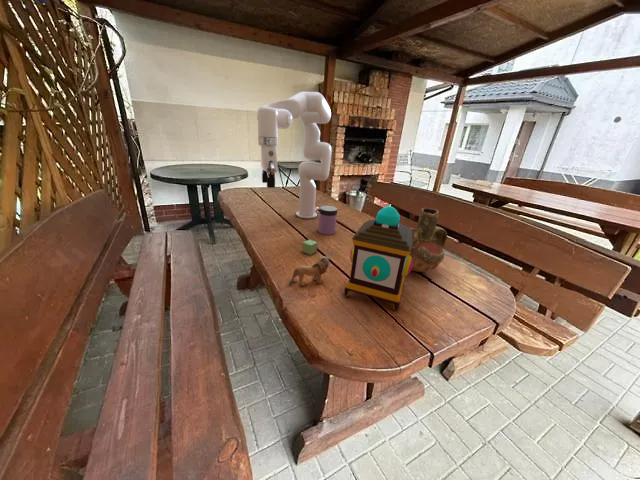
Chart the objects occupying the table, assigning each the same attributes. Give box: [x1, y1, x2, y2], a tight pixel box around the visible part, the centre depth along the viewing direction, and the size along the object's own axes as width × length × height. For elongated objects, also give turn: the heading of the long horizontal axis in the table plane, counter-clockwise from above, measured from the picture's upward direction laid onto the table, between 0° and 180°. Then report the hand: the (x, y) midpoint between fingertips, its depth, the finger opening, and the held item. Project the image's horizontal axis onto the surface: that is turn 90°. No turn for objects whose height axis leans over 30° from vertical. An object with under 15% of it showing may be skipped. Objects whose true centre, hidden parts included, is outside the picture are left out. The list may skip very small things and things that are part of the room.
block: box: [301, 239, 318, 256], centre depth 113 cm, size 4×4×4 cm
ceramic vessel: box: [409, 207, 448, 273], centre depth 101 cm, size 17×26×25 cm, turn 117°
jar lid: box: [318, 205, 338, 216], centre depth 133 cm, size 9×9×2 cm
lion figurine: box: [288, 255, 330, 287], centre depth 90 cm, size 15×5×9 cm, turn 116°
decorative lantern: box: [343, 205, 414, 312], centre depth 84 cm, size 20×20×30 cm
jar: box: [317, 213, 338, 236], centre depth 135 cm, size 9×9×12 cm
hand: (268, 184), depth 111 cm, fingers open, 9 cm apart
